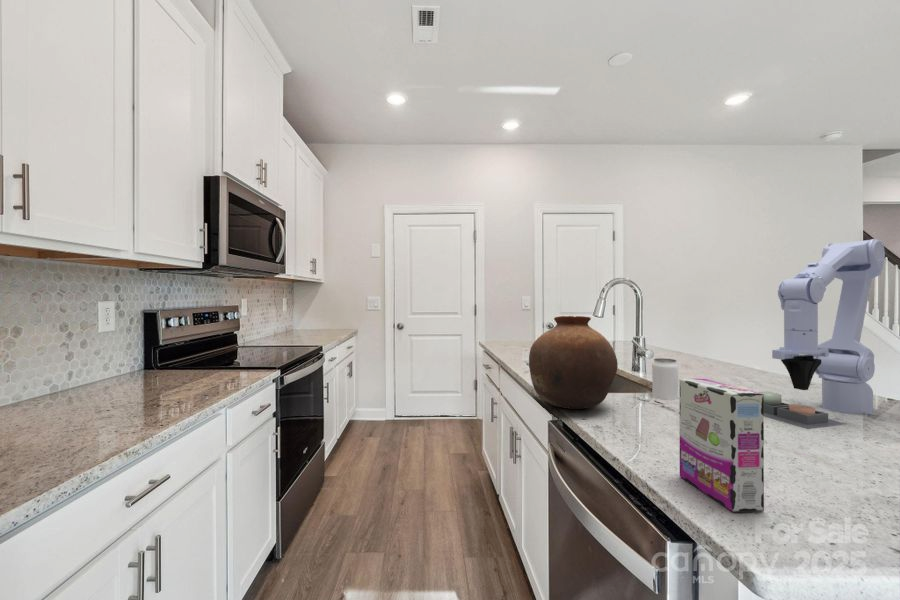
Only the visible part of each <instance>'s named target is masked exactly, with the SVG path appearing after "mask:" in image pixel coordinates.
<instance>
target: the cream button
mask: <svg viewBox="0 0 900 600" xmlns="http://www.w3.org/2000/svg"><path fill="white" fill-rule="evenodd" d="M733 386H734V387H738V388H742V389H746V390H750V391H753V388H752V387H750V386H745V385H733Z"/></svg>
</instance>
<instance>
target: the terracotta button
mask: <svg viewBox="0 0 900 600" xmlns="http://www.w3.org/2000/svg"><path fill="white" fill-rule="evenodd" d="M789 404H790V403H789ZM815 410H816V408H815V407H813V406H809V405H807V404H806V405H805V404H797V403H791V404H790V405H789V411H793V412H797V413H801V414H805V415H810V414H815Z"/></svg>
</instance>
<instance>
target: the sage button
mask: <svg viewBox="0 0 900 600" xmlns="http://www.w3.org/2000/svg"><path fill="white" fill-rule="evenodd" d="M757 393H761V394H764V404H766V405H771V406H781V405H782V403H783V402H782V394H781V393H778V392H771V391H758V392H757Z"/></svg>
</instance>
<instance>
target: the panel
mask: <svg viewBox="0 0 900 600" xmlns="http://www.w3.org/2000/svg"><path fill="white" fill-rule="evenodd" d="M789 405H790V403H786V402H782V405H781V406H771V405H766V404H764V418H768V419H771V420H775V421H778V422H782V423H786V424H788V425H792V426H795V427H798V428H803V429H806V430H810V429H811V430H812V429H818V428H826V427H836V426H845V425H847V423H845V422H841V421H837V420H834V419H829V413H827V412H823V411H819V410H816V409H815V414H810V415H805V414H801V413H797V412H793V411H789Z"/></svg>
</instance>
